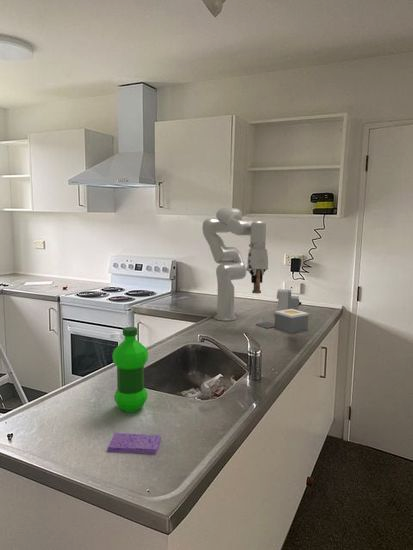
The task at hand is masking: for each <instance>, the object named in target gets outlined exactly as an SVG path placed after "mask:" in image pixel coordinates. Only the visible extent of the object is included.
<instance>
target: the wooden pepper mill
mask: <svg viewBox="0 0 413 550" xmlns="http://www.w3.org/2000/svg"><path fill="white" fill-rule="evenodd" d="M256 276H257V277H256V283H253V290H251V293H252V294H262V290H261V283H260V269H256Z"/></svg>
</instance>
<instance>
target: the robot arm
mask: <svg viewBox="0 0 413 550" xmlns="http://www.w3.org/2000/svg"><path fill="white" fill-rule="evenodd" d="M242 213H243V212H241V210H240V209H239V208H235V207H234V208H233V207H231V208H230V207H223V208H220V209H218V210H217V211H216V214H215V217H211V218H210V217H209V218H206V219H204V221H203V223H202V234H203V237H204V239H205V240H206V242H207V244H208V246H209V249H210V252H211V254H212V257H213V260H214V261H215V263H216V264H218V266H217V267H216V269H215V273H216V281H217V302H216V303H217V306H216V307H217V309H215V310H214V312H215V313H216V315H214V319H215V320H216V321H223V322H229V321H235V320H237V315H235V285H234V284H233V283H232V281H235V280H236V281H237V280H243V279H244V278H246V275H247V272H249V274H250V276H251V279H250V280H251V283H252V284H254V283H256V277H257V276H256V269H260V284H262V283H263V275H264V274H265V272H266V271H268V270H269V254H268V249H267V248H266V242H267V241H266V239H267V238H266V237H267V236H266V235H267V223H266V222H265V221H263V220H262V221H261V220H260V221H259V220H246V219H245V220H243V214H242ZM217 233H221V234H222V233H232V234H234V235H236V236H250V242H249V243H250V244H248V247H249V249H248V255H247V264H245V262H244V260H243V256H242V254H241V252H240V250H239V249H238V248H237V247H234V246H226V245H225V243H224V240H223V239H222V237H221V236H219V234H217Z"/></svg>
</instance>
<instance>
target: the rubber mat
mask: <svg viewBox="0 0 413 550" xmlns="http://www.w3.org/2000/svg"><path fill="white" fill-rule="evenodd" d="M255 326H258V327H260V328H264V329H267V330H269V329H273V328H274V329H275V323H273V322H270V321H267V322H266V321H264V322H259V323H256V324H255Z"/></svg>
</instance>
